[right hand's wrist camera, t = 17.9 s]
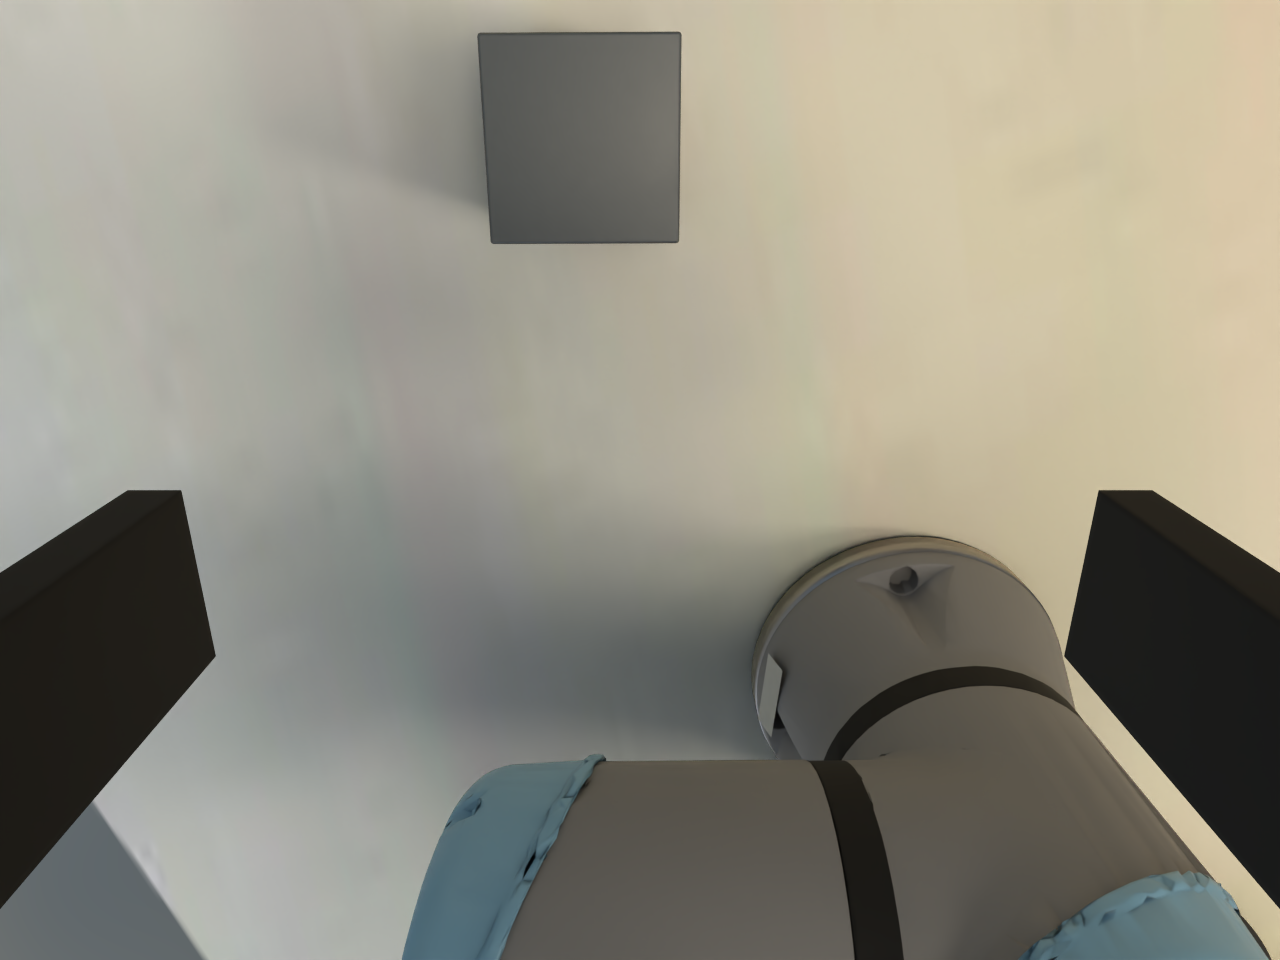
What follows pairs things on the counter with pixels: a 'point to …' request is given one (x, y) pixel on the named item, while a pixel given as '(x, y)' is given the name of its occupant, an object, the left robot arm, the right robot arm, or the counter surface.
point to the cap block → (582, 136)
